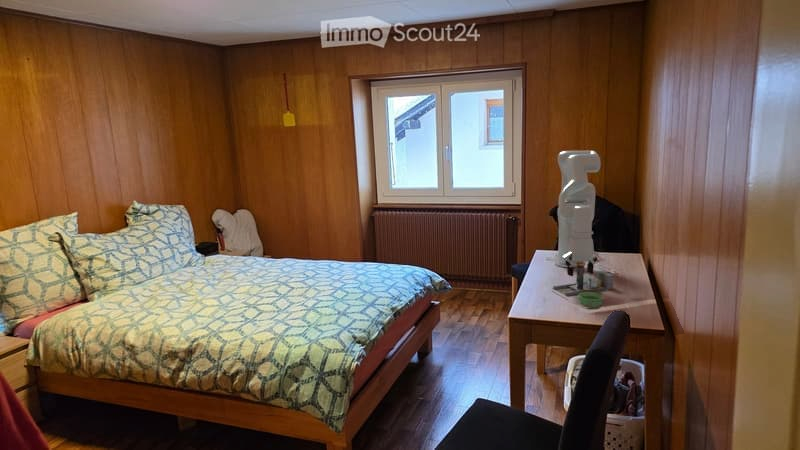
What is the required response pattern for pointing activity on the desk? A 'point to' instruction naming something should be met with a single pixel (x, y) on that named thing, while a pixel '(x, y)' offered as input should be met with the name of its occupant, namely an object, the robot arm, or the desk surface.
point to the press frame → (606, 285)
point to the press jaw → (583, 279)
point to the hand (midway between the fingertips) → (580, 274)
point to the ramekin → (590, 299)
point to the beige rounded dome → (598, 283)
